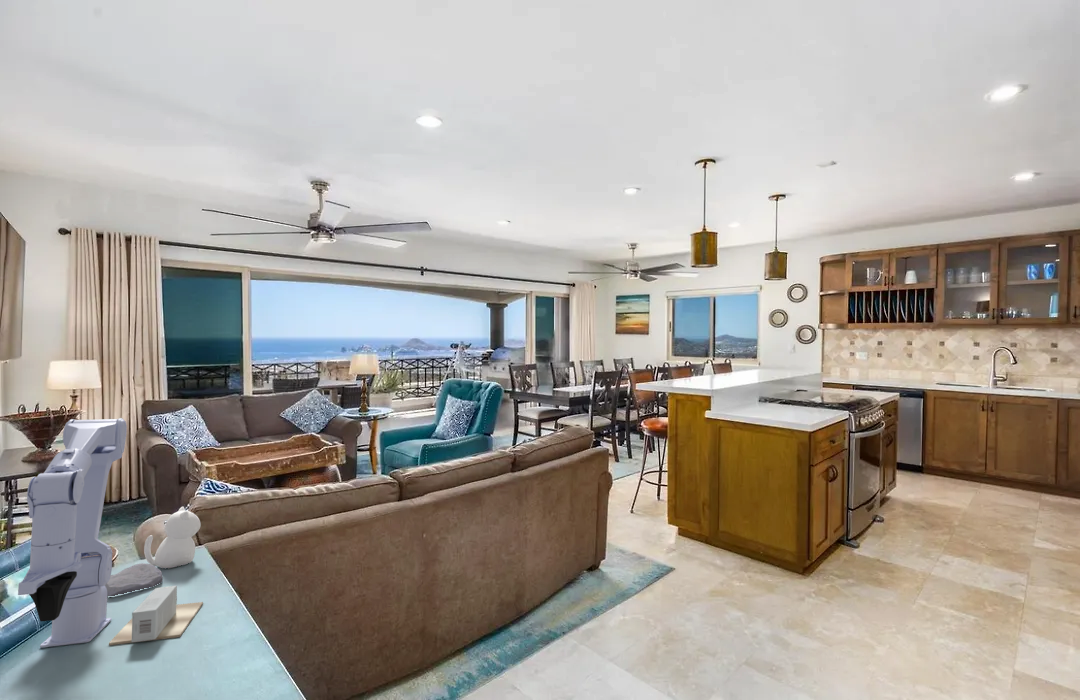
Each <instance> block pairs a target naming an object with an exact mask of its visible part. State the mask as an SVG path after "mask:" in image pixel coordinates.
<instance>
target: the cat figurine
mask: <svg viewBox="0 0 1080 700" xmlns="http://www.w3.org/2000/svg"><path fill="white" fill-rule="evenodd" d="M201 525H202V524H201V520H200V518H199V517H198V516H197V515H196V513H194V512H192V511H190V510H186V509H185V506H181V507H180V508H179V509H178V511H176V512H174V513H171V515H169V517H168V519H167V520H166V523H165V527H164V532H165V534H166V537H165V538H164V539H163V540H162V542H161V543H160V544H159V546H158V547H157V549H156V552H155V554H154V557H153V555H152V551H151V549H152V542H153V540H154V536H153V535H152V534H151V535H148V536H147V538H146V539H145V541H144V545H143V546H144V547H143V552H144V554H143V555H144V556H145V560H146V561H147V564H151V565H154V566H155V567H159V568H161V569H163V568H165V569H166V568H168V569H173V568H177V566H178V567H180V566H181V565H182V566H185V565H188V563H189V564H190V563H192V561H194V558H195V554H196V545H195V541H194V539H193V538H192V537H193V536H194V535H196V534H197V533H198V531H200V528H201Z"/></svg>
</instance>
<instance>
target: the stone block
mask: <svg viewBox="0 0 1080 700" xmlns="http://www.w3.org/2000/svg"><path fill="white" fill-rule="evenodd" d="M163 579H164V577H163V573H162V571H161V569H160V568H158V567H157V566H154V565H151V564H149V563H144V562H141V563H137V564H134V565H132V566H130V567H126V568H124V569H123V570H121V571H119V572H118V573H115V574H111V576H110V579H109V582H108V583H107V584H106V585H105V587H106V589H107V596H115V595H118V594H124V593H127V592H132V591H135V590H140V589H144V588H149V587H152V588H154V587H156V586H158V585H160V584H162V583H163ZM161 582H162V583H161ZM159 583H160V584H159ZM157 584H158V585H157ZM155 585H156V586H155ZM153 586H154V587H153ZM149 589H150V588H149Z"/></svg>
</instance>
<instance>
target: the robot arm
mask: <svg viewBox="0 0 1080 700" xmlns="http://www.w3.org/2000/svg"><path fill="white" fill-rule="evenodd" d="M127 426H128V425H127V422H126V420H125V419H124V418H122V417H119V418H113V419H112V418H106V419H105V418H104V419H103V418H102V419H100V418H99V419H97V418H96V419H75V418H73V419H69V420H68V421H67V422H66V423H65V424H64V428H63V432H62V443H63V445H64V447H65V449H64V450H61V451H59V452H58V453H56V454H55V456H54V457H53V458H52V460H51V461H50V463H49V465H48V466H47V467H46V469H45V471H44V472H43V473H42V472H41V473H38V475H37V476H33V477H31V479H30V481H29V483H28V487H27V494H26V502H27V506H28V516H29V519H31V534H30V535H31V536H30V537H31V538H30V540H31V542H30V556H29V557H30V559H29V568H28V570H27V572H26V574H25V576H24V577H23V579H22V581H20V582H19V583H18V585H17V586H18V589H17V591H18V592H17V595H18V596H22V595H23V596H24V595H25V596H26V595H29V596H30V598H31V600H32V601H33V603H34V605H35V608H36V611H37V615H38V618H39V622H50V621H51V635H50V636H49V637H48V638H47V639H46V640H44V641H43V642H42V643H41V644H40V645H39V647H40V648H49V647H58V646H67V645H73V644H74V645H75V644H83V643H84V644H86V643H88V642H89V643H90V642H91V641H92V640H93V639H94V638H95V637H96V636H97V635H98V634H99V633H100V632H101V631H103V630H104V628H106V626H107V625H108V624H109V623H110V622H111V621H112V617H107V614H108V613H107V607H108V598H107V589H106V587H105V585H106V584H107V583H108V582H109V579H110V576H111V575H112V569H113V550H112V547H111V546H110V545H109V544H108V543H106V542H104V541H102V540H100V539H99V536H100V535H99V533H100V529H101V521H102V516H103V510H104V504H105V503H104V502H105V496H106V490H107V487H108V486H107V485H108V479H109V473H110V470H111V467H112V465H113V463H114V462H115V461H117V460H120V459H122V458H123V454H124V452H125V446H126V441H127V439H126V438H127V428H128V427H127Z"/></svg>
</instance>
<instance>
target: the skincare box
mask: <svg viewBox="0 0 1080 700" xmlns="http://www.w3.org/2000/svg"><path fill="white" fill-rule="evenodd" d="M177 594H178V585H169V586H162V587H156V588H154V589H153V590H152V592H151V593H150V594H149V595H147V596H146V598H145V599H144V600H143V601H142V602H141V603H140V604H139V605H138V606H137V607H136V609H134V610H133V611H132V612H131V619H132V640H131V642H134V643H139V642H138V641H142V642H147V641H146V640H151V641H154V640H153V639H156V638H157V637H158V635H159V634H160V633H161V632H162V630H163V629H164V628H165V626H166V625H167V624H168V622H169V621H170V620H171V619H172V617H173V616H174V615H175V613H176V606H177V605H178V603H177V602H178V595H177Z"/></svg>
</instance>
